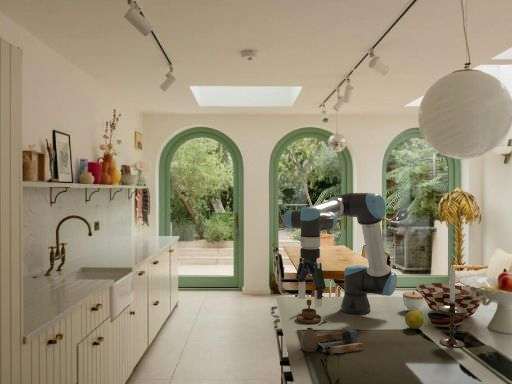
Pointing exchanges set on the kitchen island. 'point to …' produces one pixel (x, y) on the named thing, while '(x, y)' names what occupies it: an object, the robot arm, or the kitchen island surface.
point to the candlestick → (452, 313)
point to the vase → (309, 340)
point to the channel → (342, 347)
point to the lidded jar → (413, 300)
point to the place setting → (309, 315)
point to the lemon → (414, 319)
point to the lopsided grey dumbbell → (347, 338)
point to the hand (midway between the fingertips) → (309, 302)
